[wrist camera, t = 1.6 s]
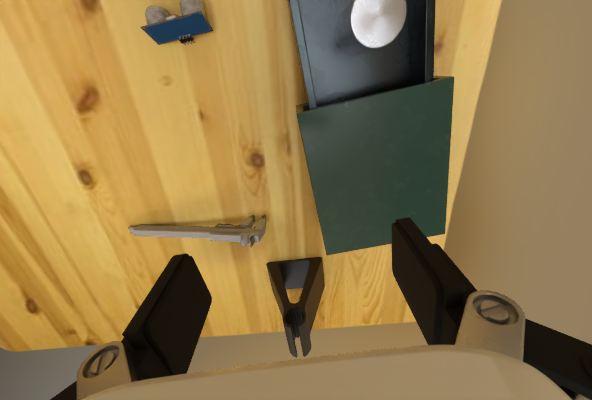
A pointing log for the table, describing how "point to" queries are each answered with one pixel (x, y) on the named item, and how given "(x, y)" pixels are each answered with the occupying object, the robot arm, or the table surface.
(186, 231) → the grey bent bar
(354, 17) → the tin
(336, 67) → the drawer
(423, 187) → the cabinet
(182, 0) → the ultrasonic sensor
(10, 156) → the table surface
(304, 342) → the phone stand
